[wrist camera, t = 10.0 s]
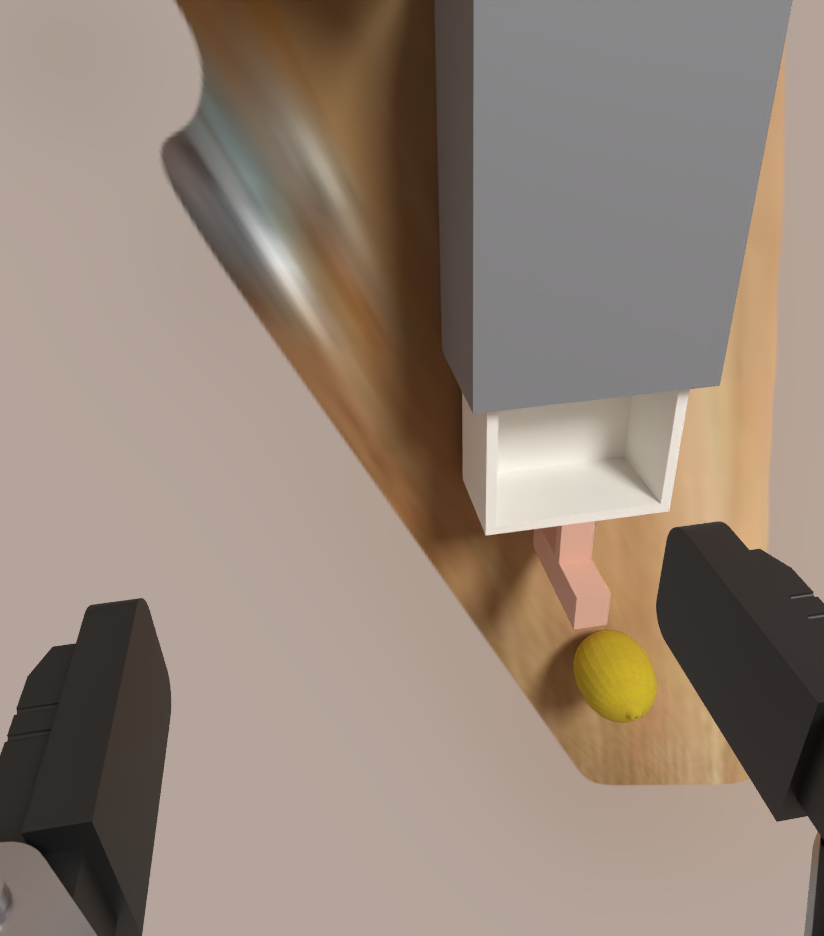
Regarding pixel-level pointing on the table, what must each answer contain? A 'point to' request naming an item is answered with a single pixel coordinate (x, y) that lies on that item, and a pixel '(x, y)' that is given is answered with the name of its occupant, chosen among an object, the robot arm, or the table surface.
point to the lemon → (615, 676)
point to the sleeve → (596, 190)
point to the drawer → (572, 479)
